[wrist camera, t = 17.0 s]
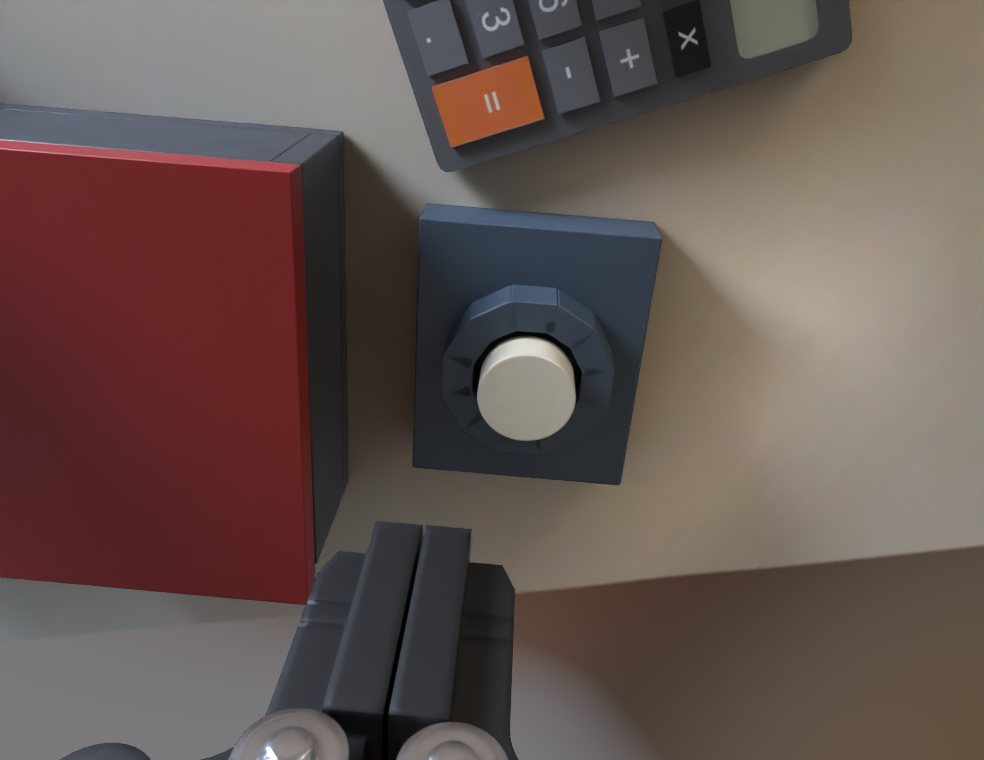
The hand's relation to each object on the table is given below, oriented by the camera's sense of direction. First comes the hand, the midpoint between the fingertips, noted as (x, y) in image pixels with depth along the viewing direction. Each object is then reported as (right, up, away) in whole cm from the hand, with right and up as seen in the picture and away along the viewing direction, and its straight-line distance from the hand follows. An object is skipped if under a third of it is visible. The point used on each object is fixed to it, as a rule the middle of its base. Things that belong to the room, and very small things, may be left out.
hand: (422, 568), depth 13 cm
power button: (+2, +3, +18) cm, 18 cm away
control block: (+3, +5, +21) cm, 22 cm away
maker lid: (-13, +3, +16) cm, 21 cm away
